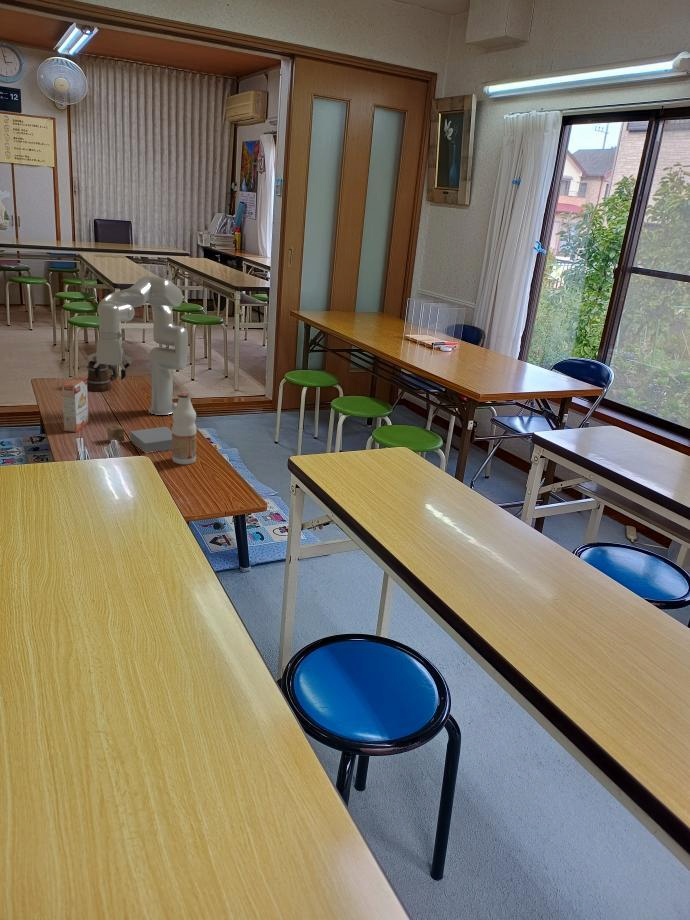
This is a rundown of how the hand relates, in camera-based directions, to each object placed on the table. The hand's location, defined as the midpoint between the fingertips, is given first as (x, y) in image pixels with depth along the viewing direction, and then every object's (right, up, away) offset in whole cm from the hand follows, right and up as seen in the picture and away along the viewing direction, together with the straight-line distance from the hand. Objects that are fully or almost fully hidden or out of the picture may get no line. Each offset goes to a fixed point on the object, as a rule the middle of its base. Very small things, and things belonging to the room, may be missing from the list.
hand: (110, 377), depth 275 cm
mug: (-32, +4, +79) cm, 85 cm away
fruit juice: (+31, -34, -2) cm, 46 cm away
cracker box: (-23, -19, +23) cm, 37 cm away
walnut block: (-2, -25, +11) cm, 28 cm away
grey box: (+15, -27, +11) cm, 33 cm away
